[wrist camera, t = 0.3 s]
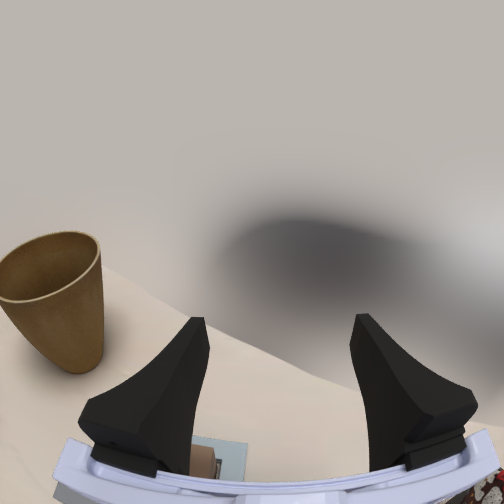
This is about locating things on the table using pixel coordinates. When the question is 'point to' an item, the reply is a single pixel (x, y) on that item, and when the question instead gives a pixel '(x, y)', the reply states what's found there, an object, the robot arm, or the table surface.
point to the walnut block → (202, 462)
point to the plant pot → (57, 297)
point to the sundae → (483, 491)
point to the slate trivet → (70, 496)
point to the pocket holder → (226, 456)
